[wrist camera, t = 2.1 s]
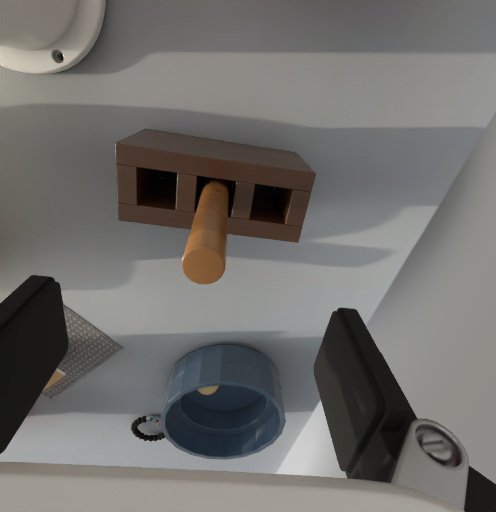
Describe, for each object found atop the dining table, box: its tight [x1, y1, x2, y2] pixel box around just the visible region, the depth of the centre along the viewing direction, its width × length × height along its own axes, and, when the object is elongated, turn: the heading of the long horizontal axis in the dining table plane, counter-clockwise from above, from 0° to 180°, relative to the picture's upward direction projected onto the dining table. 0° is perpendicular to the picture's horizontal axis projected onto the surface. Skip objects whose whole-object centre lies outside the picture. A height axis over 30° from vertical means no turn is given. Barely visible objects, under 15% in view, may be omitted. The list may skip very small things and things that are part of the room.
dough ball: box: [197, 385, 219, 395], centre depth 40 cm, size 3×3×3 cm
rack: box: [115, 129, 316, 242], centre depth 26 cm, size 6×14×8 cm, turn 81°
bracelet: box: [131, 415, 165, 441], centre depth 47 cm, size 6×6×1 cm
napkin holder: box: [43, 367, 67, 391], centre depth 37 cm, size 3×7×8 cm, turn 128°
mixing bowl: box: [160, 344, 286, 459], centre depth 41 cm, size 15×15×6 cm
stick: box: [181, 177, 229, 284], centre depth 22 cm, size 2×2×18 cm
